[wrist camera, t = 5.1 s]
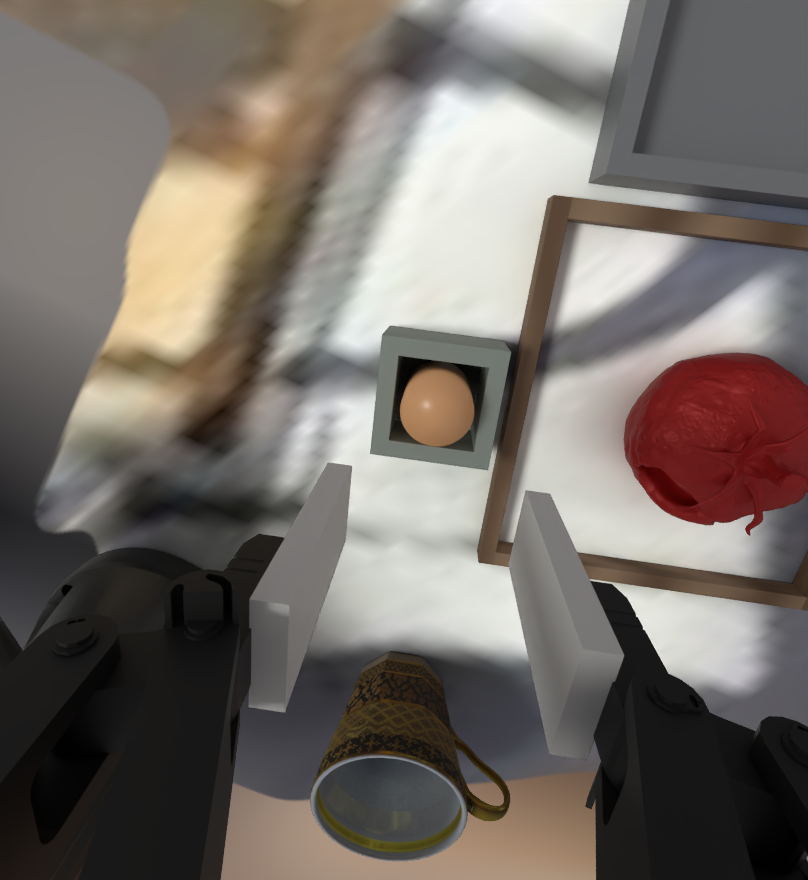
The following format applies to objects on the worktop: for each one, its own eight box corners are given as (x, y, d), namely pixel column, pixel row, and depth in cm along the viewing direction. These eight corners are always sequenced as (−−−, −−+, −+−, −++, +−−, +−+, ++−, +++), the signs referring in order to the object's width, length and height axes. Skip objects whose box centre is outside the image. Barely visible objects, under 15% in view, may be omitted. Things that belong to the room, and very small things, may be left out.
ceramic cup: (336, 716, 42) (305, 848, 32) (346, 624, 38) (314, 742, 29) (486, 741, 41) (498, 881, 32) (509, 650, 38) (531, 777, 28)
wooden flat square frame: (477, 550, 35) (478, 562, 34) (548, 198, 27) (553, 195, 25) (800, 597, 34) (816, 611, 33) (973, 250, 26) (1003, 249, 25)
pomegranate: (648, 322, 29) (736, 342, 20) (806, 371, 29) (961, 412, 20) (582, 469, 32) (633, 541, 23) (724, 512, 32) (828, 600, 24)
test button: (401, 419, 31) (396, 441, 27) (409, 356, 29) (404, 370, 25) (464, 427, 30) (467, 451, 27) (475, 365, 29) (480, 380, 25)
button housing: (378, 431, 32) (370, 453, 29) (389, 325, 30) (382, 335, 26) (482, 446, 32) (487, 470, 28) (502, 340, 30) (511, 352, 26)
